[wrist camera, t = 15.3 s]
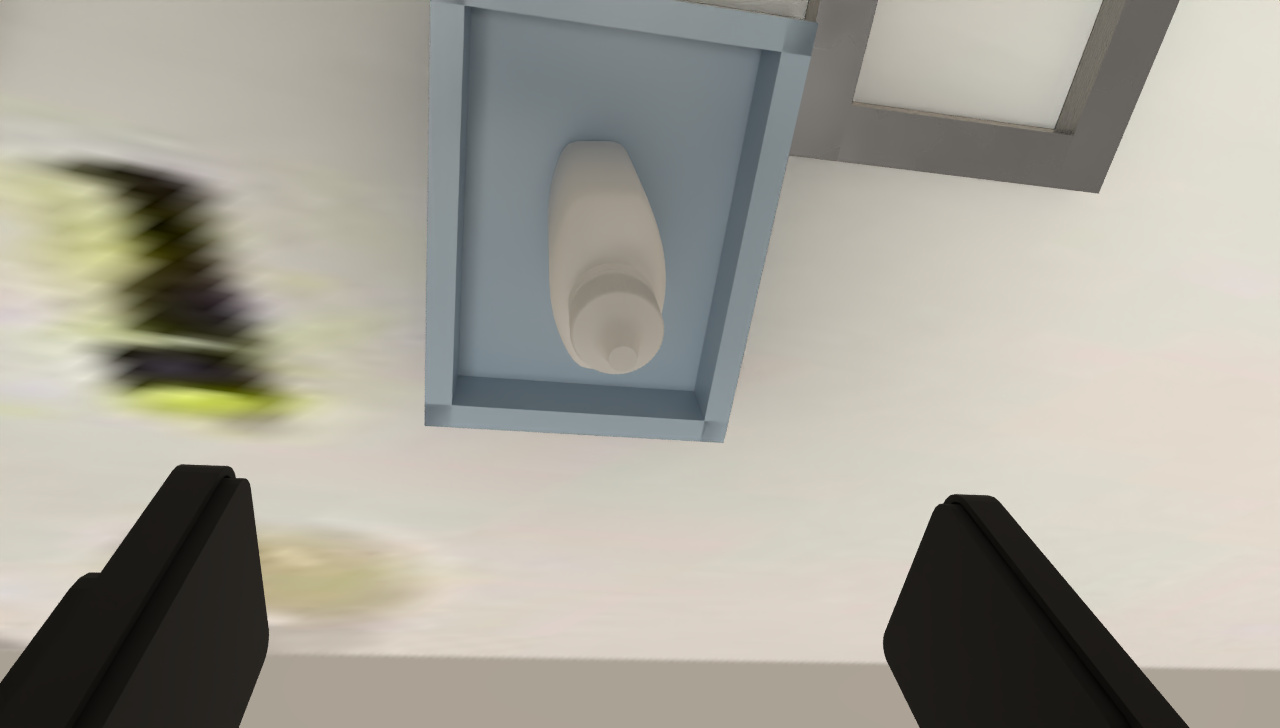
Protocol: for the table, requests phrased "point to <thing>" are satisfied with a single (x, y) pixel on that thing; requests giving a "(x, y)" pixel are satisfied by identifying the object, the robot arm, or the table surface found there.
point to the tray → (668, 171)
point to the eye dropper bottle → (604, 259)
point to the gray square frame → (979, 146)
